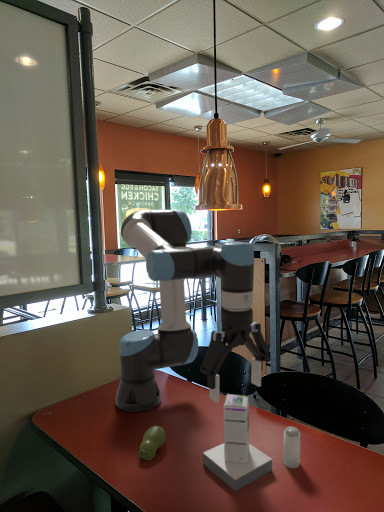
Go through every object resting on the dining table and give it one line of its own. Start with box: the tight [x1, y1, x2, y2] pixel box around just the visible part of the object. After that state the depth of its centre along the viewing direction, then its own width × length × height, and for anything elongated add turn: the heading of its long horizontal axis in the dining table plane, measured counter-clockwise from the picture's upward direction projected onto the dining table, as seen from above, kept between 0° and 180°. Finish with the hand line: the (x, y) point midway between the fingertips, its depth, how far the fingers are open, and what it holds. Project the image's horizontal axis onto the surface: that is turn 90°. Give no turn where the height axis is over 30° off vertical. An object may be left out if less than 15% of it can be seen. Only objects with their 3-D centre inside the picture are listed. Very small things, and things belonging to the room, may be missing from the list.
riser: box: [202, 442, 273, 492], centre depth 94 cm, size 12×12×3 cm
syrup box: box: [222, 394, 250, 464], centre depth 93 cm, size 6×6×14 cm
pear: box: [138, 425, 166, 461], centre depth 101 cm, size 6×5×10 cm
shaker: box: [282, 426, 301, 469], centre depth 95 cm, size 4×4×9 cm
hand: (236, 392), depth 92 cm, fingers open, 13 cm apart
